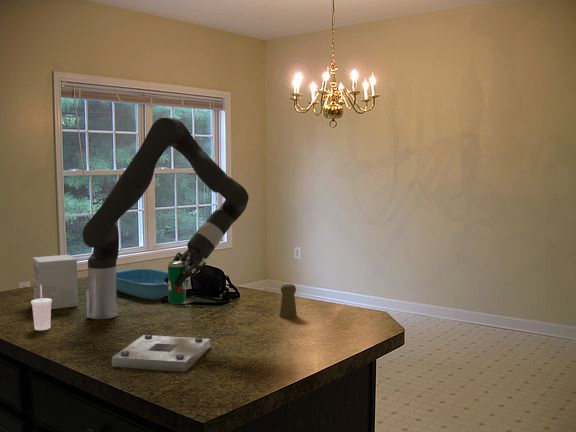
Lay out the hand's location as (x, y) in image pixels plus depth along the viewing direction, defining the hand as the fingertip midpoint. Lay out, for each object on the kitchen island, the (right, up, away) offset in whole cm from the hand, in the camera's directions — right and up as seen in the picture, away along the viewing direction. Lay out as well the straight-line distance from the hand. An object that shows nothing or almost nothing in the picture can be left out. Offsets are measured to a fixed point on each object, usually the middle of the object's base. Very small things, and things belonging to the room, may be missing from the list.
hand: (171, 284), depth 174 cm
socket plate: (0, -18, -13) cm, 22 cm away
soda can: (+1, -6, +2) cm, 6 cm away
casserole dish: (-22, -11, +67) cm, 71 cm away
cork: (+34, -15, +30) cm, 48 cm away
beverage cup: (-44, -16, +14) cm, 48 cm away
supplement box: (-51, -13, +45) cm, 69 cm away
